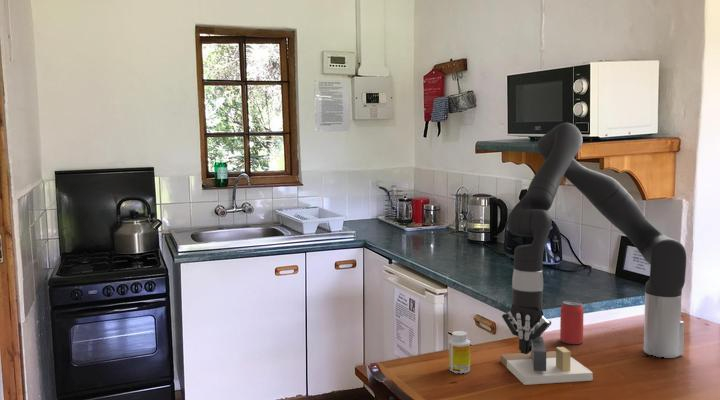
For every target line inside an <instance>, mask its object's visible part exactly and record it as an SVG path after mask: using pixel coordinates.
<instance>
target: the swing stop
mask: <svg viewBox="0 0 720 400" xmlns="http://www.w3.org/2000/svg"><path fill="white" fill-rule="evenodd" d="M546 352H547V349H546V345H545V341H544V338H543V336H541V337H538V338H536V339H534V340H533V339H532V350H531V351H530V353H531V358H532V364H533V369H534V371H546Z"/></svg>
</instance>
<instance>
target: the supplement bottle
mask: <svg viewBox="0 0 720 400" xmlns="http://www.w3.org/2000/svg"><path fill="white" fill-rule="evenodd" d="M451 335H452V336H451V338H450V339H449V341H448V366H449V367H448V368H449V371H450V372H451V371H452V373H453V372H454V374H458V373H460V374H461V375H463V374H462V373H464V374H468V373H469V372H470V371H471V341H470V340H469V339H468V332H467V331H465V330H464V331H463V330H456V331H452V333H451ZM460 374H459V375H460Z"/></svg>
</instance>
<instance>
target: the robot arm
mask: <svg viewBox="0 0 720 400" xmlns="http://www.w3.org/2000/svg"><path fill="white" fill-rule="evenodd" d="M582 145H583V135H582V133H581V131H580V129H579V128H578V126H576V125H575V124H573V123H569V122H562V123H559V124H558V125H556V126H555V127H553V128H552V129H551V130H549V131H548V132H547V133H546V134H544V135H543V136H541V137H540V138H539V139H538V141H537V150H538V152H539V154H540V155H541V156H542V158H543V159H544V162H543V164H541V167H540V168H539V169H538V170H537V172H536V173H535V175H534V176H533V177H532V179H531V182H530V184H529V185H528V189H527V190H526V193H525V195H524V196H523V197H522V198H521V199H520V200H519V201H518V203H516V205H514V207H513V208H512V209H511V211H510V213H509V215H508V218H507V228H508V230H509V232H510V233H511V234H512V235H513V236H519V237H529V238H530V237H531V238H533V241H532V242H531V244H530V243H529V244H521V245H517V246H516V247H515V249H514V254H513V272H512V277H511V278H512V280H511V281H512V282H511V284H512V285H511V306H510V308H509V309H510V310H509V311H508V312H505V313H503V314H502V315H501V317H502V319H503V321H504V322H505V324H506V326H507V327H508V330H510V332H511V334H512V335H513V336H516V337H518V349H519V351H520V353H523V354H528V353H531V350H532V339H533V340H534V339H536V338H538V337H539V336H540V335H541V336H542V335H543V333H545V332H546V330H547V329H548V328H550V327H551V325H552V321H551V320H548V319H546V318H545V317H544V312H543V295H544V293H543V290H544V277H543V276H544V275H543V274H544V273H543V262H544V261H543V260H544V251H545V248H546V244H547V239H548V237H549V234H550V231H551V229H552V228H551V227H552V224H553V222H552V216H551V215H550V213H549V212H548V211H549V210H550V208H551V207H552V205H553V203H554V199H555V198H556V194H557V191H558V189H559V186H560V185H561V182H562V180H563V177H564V178H566V180H568V182H570V183H571V184H572V185H573V186H574V187H575V188H576V189H577V190H578V191H579V192H581V194H582V195H583V196H584V197H585V198H586V199H587V200H588V202H590V203H591V204H592V205H593V206H594V208H595V209H596V210H597V211H598V212H599V213H600V214H601V215H602V216H603V217H604V218H606V219H607V220H608V222H610V223H611V224H612V225H613V226H614V227H615V228H617V229H618V230H619V231H620V232H622V233H623V234H624V235H625V237H627V238H628V239H629V240H630V242H631V243H632V244H633V246H634V247H635V248H636V249H637V251H638V252H639V253H640V255H641V256H642V257H643V258H644V260H645V261H646V262H647V263H648V264H649V265H650V268H649V269H650V270H649V279H648V280H647V281H646V282H645V285H644V286H645V287H644V321H643V322H644V324H643V325H644V327H643V328H644V329H643V352H644V353H645V354H647V355H650V356H651V355H653V356H652V357H655V356H656V358H661V357H664V359H675V358H678V357H681V356H684V339H685V337H684V335H685V334H684V333H685V332H684V331H685V323H684V321H682V292H683V288H684V286H685V281H686V270H687V269H686V268H687V252H686V249H685V247H684V245H683V244H682V243H681V242H680V241H679V240H676V239H675V238H672V237H669V236H667V235H666V234H664V233H663V232H661V231H660V230H659V229H658V228H657V227H656V226H655V225H653V224H652V222H650V221H649V220H648V219H647V217H645V215H644V214H643V211H642V210H641V208H640V207H639V205H638V203H637V202H636V200H635V199H634V197H633V196H632V195H631V194H630V192H629V191H628V190H627V189H625V187H624V186H623V185H622V184H621V183H620V182H619V181H618V180H616V179H615V178H613V177H611V176H609V175H606V174H604V173H602V172H599V171H597V170H594V169H593V170H592V169H590V168H587V167H585V166H584V165H583V164H581V163H579V162H578V161H577V160H576V159H575V157H576V156H577V154H578V152H579V151H580V149H581V148H582ZM538 322H540V323H539V325H540V327H539V328H538V329H537V330H536V331H535V333H534V329H535V325H536V324H537V323H538Z"/></svg>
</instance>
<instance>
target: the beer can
mask: <svg viewBox="0 0 720 400" xmlns="http://www.w3.org/2000/svg"><path fill="white" fill-rule="evenodd" d="M584 314H585V312H584V307H583V302H580V301H578V300H573V299H572V300H564V301H562V304H561V307H560V326H559V327H560V328H559V331H560V332H559V333H560V334H559V335H560V336H559V339H560V341H561V343H564V344H567V345H581V344H582V343H583V342H584Z"/></svg>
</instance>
